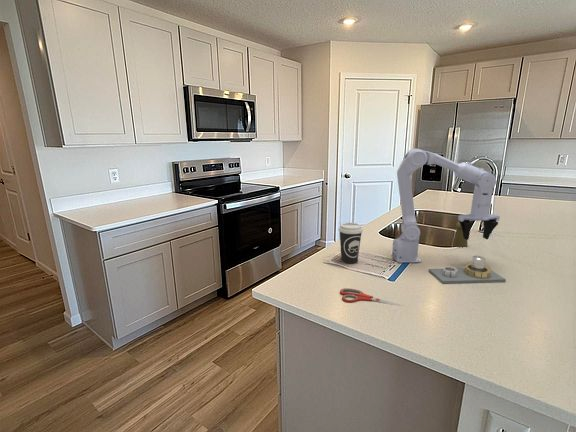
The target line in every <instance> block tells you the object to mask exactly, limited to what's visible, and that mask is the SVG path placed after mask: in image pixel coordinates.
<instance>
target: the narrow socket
mask: <svg viewBox="0 0 576 432" xmlns="http://www.w3.org/2000/svg"><path fill="white" fill-rule="evenodd" d="M441 268H442V271H441V274H442V275H445V276H447V277H451V278H452V277H457V276H458V269H456V268H457V267H454V266H449V265H447V266H446V265H445V266H442V267H441Z"/></svg>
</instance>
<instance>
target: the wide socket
mask: <svg viewBox="0 0 576 432" xmlns="http://www.w3.org/2000/svg"><path fill="white" fill-rule="evenodd" d="M463 268H464V273H465V274H467V275H469V276H471V277H474V278H480V279H487V278H489V277H490V276H491V270H492V269H491V268H489V267H487V266H486V265H485V266H484V272H477V271H473V270H471V263H467V264H464V267H463Z"/></svg>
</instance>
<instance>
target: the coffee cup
mask: <svg viewBox="0 0 576 432" xmlns="http://www.w3.org/2000/svg"><path fill="white" fill-rule="evenodd" d="M363 229H364V228H363V227H362V225H361V224H360V223H357V222H343V223H341V224H340V226H339V227H338V232H339V240H340V241H339V242H340V243H339V245H340V258H341V259H340V260H341V262H343V263H344V264H349V265H351V264H352V265H353V264H356V263H358V260H359V255H360V247H361V246H360V245H361V239H362V233H363V232H364V230H363Z"/></svg>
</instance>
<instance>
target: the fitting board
mask: <svg viewBox="0 0 576 432" xmlns="http://www.w3.org/2000/svg"><path fill="white" fill-rule="evenodd" d="M455 268H456V269H458V276H457V277H452V278H451V277H447V276H445V275H442V274H441V271H442V267H441V268H428V273H430V274H431V275H432V276H433V277H435V279H436V280H437V281H439V282H440V283H441V284H442V285H445V284H446V285H447V284H448V285H449V284H450V285H451V284H477V283H478V284H481V283H482V284H483V283H484V284H485V283H506V282H507V281H506V280H507V279H506V278H504V277H503V276H501V275H500V274H499V273H497V272H496V271H493V270H492V269H491V276H490V277H489V278H487V279H480V278H474V277H471V276H469V275H467V274H465V273H464V267H455Z"/></svg>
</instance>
